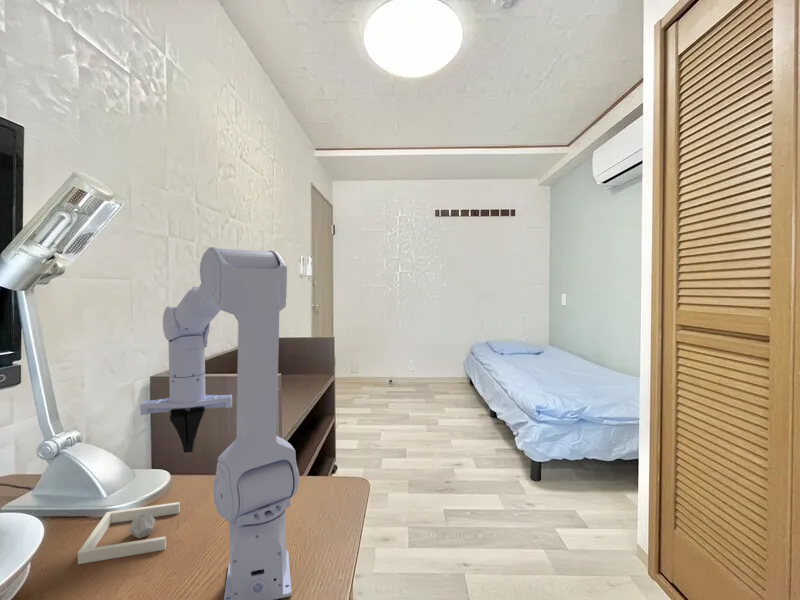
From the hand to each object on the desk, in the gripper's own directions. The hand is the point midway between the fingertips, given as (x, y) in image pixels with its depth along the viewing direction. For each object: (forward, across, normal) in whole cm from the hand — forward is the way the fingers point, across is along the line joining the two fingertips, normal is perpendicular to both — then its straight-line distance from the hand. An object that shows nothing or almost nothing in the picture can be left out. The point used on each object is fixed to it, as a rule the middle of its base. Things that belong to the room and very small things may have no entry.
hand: (189, 450), depth 77 cm
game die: (+10, +6, +8) cm, 14 cm away
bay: (+10, +6, +8) cm, 14 cm away
